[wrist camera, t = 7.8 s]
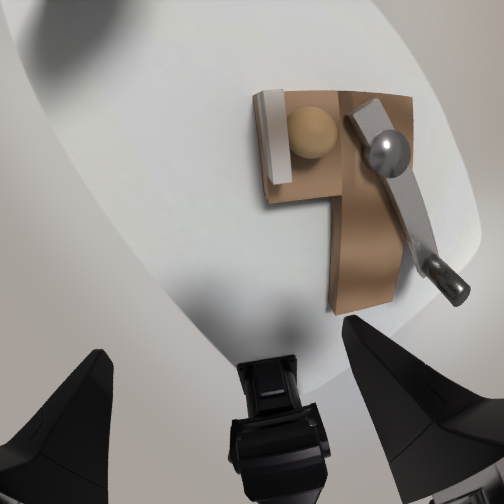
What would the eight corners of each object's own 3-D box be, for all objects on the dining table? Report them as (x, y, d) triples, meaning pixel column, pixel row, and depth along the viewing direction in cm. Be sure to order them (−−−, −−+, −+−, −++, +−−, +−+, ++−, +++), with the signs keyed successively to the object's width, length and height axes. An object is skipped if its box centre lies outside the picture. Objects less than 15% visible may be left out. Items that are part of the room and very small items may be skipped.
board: (383, 288, 25) (407, 322, 21) (276, 311, 24) (287, 353, 20) (396, 96, 16) (439, 99, 12) (252, 95, 15) (264, 89, 11)
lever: (437, 254, 21) (475, 291, 16) (412, 274, 22) (448, 315, 17) (374, 95, 14) (434, 98, 9) (338, 117, 15) (391, 127, 10)
